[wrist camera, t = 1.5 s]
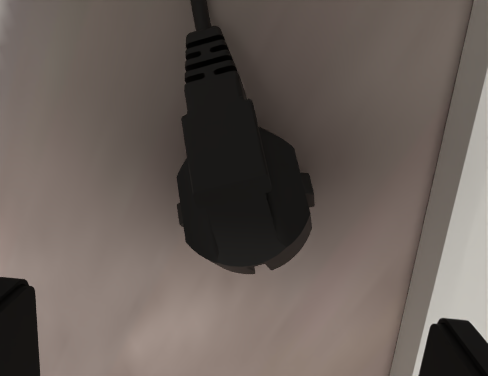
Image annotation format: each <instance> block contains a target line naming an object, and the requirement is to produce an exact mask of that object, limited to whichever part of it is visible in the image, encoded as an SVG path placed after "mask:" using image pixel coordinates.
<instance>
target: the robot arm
mask: <svg viewBox="0 0 488 376" xmlns="http://www.w3.org/2000/svg"><path fill="white" fill-rule="evenodd" d="M0 376H40V364H39V348H38V331H37V315H36V299H35V290H34V288H33V287H32V286H29V284H28V282H27V281H26V280H25V279H16V278H6V277H0ZM418 376H488V343H487V342H486V340H485V339H484V338H483V337H482V336H481V334H480V333H479V332H478V331H477V330H476V328H475V327H474V326H473V325H472V324H471V323H470V322H469V321H467V320H460V319H449V318H441V319H439V321H438V322H437V324H435V323H434V324H432V325H431V326H430V329H429V333H428V337H427V341H426V346H425V350H424V354H423V358H422V363H421V367H420V371H419V375H418Z"/></svg>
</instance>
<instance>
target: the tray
mask: <svg viewBox="0 0 488 376" xmlns="http://www.w3.org/2000/svg"><path fill="white" fill-rule="evenodd" d="M441 318H449V319H460V320H467V321H469V322H470V323H471V324H472V325H473V326H474V327H475V328H476V330H477V331H478V332H479V333H480V334H481V336H482V337H483V338H484V339H485V340H486V342H487V343H488V0H474V2H473V6H472V11H471V15H470V20H469V24H468V28H467V33H466V37H465V42H464V46H463V51H462V55H461V60H460V64H459V68H458V73H457V77H456V82H455V86H454V91H453V95H452V100H451V104H450V108H449V113H448V117H447V122H446V126H445V131H444V135H443V140H442V144H441V148H440V153H439V157H438V162H437V166H436V171H435V175H434V180H433V184H432V188H431V193H430V197H429V202H428V206H427V211H426V215H425V220H424V224H423V228H422V233H421V237H420V242H419V246H418V251H417V255H416V260H415V264H414V268H413V273H412V277H411V282H410V286H409V291H408V295H407V300H406V304H405V308H404V313H403V317H402V322H401V326H400V331H399V335H398V340H397V344H396V348H395V353H394V357H393V362H392V366H391V371H390V375H389V376H418V375H419V371H420V367H421V363H422V358H423V354H424V350H425V346H426V341H427V337H428V333H429V329H430V326H431V325H432V324H434V323H435V324H437V322H438V321H439V319H441Z"/></svg>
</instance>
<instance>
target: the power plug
mask: <svg viewBox="0 0 488 376" xmlns="http://www.w3.org/2000/svg"><path fill="white" fill-rule="evenodd" d="M191 6H192V11H193V17H194V22H195V28H196V31H195V32H192V33H189V34H188V35H187V37H186V48H187V50H186V60H187V61H186V62H185V70H186V73H185V82H186V84H185V90H184V91H185V97H186V103H187V110H188V111H187V115H185V116H183V117H182V118H181V120H182V127H183V133H184V140H185V146H186V153H187V159H186V160H185V162H184V164H183V165H182V167H181V169H180V171H179V173H178V175H177V183H178V190H179V197H180V203H179V204H177V209H178V217H179V224H180V225H181V226H182V227H184V233H185V240H186V243H187V244H188V245H189V246H190V247H191V248H192V249H193V250H194V251H195V252H197V253H198V254H199V255H201V256H202V257H204V258H206V259H208V260H209V261H211V262H213V263H215V264H217V265H218V266H220V267H222V268H224V269H227V270H229V271H232V272H236V273H242V274H255V268H254V266H258V265H262V264H266V265H267V266H268V267H269V268H270V269H271V270H274V269H276V268H278V267H280V266H282V265H284V264H285V263H287V262H288V261H289V260H291V259H292V258H293V257H294V256H295V255H296V254H297V253H298V252H299V251H300V250H301V248H302V247H303V245H304V244H305V242H306V241H307V239H308V237H309V234H310V232H311V229H312V225H311V216H310V211H309V207H313V206H315V204H314V192H313V188H312V184H311V180H310V176H309V174H308V173H300V171H299V167H298V163H297V159H296V155H295V151H294V148H293V147H292V146H291V145H290V144H288V143H287V142H286V141H284V140H283V139H281V138H280V137H278V136H276V135H274V134H272V133H270V132H268V131H266V130H264V129H262V128H260V127H258V124H257V119H256V115H255V110H254V106H253V102H252V100H251V99H247V98H246V94H245V91H244V88H243V85H242V82H241V79H240V76H239V74H238V72H237V69H236V66H235V64H234V62H233V59H232V57H231V54H230V52H229V49H228V47H227V44H226V42H225V39H224V37H223V34H222V32H221V29H220V28H219V27H218V26H213V27H211V23H210V17H209V12H208V7H207V2H206V0H191Z"/></svg>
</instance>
